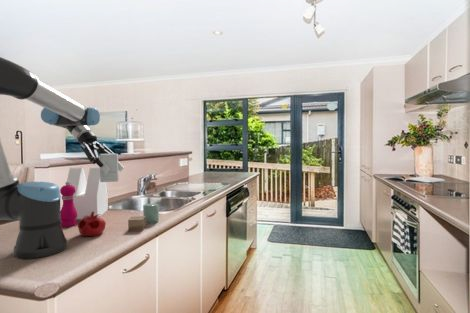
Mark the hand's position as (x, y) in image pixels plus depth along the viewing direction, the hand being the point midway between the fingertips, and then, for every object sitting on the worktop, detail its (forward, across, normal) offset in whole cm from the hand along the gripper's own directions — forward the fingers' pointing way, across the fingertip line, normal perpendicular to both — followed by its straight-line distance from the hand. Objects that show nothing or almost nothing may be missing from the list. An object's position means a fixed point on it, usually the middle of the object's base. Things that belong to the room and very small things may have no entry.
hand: (115, 170), depth 128 cm
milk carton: (-1, -14, -37) cm, 40 cm away
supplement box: (+2, 0, -6) cm, 6 cm away
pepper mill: (+3, +6, -32) cm, 33 cm away
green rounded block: (+27, -8, -8) cm, 29 cm away
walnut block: (+27, +4, -8) cm, 29 cm away
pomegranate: (+17, +15, -18) cm, 29 cm away
